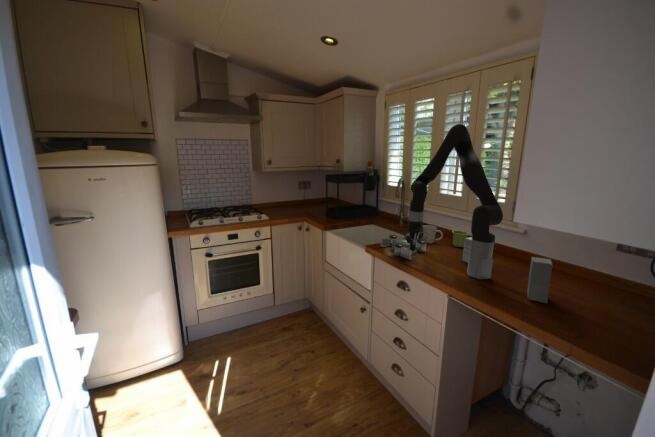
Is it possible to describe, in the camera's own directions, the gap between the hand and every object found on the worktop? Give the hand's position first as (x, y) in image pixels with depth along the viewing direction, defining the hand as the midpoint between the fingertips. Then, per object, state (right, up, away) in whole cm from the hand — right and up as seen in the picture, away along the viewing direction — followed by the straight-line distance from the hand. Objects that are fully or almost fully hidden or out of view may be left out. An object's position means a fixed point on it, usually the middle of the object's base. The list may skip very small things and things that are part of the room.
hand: (412, 250), depth 159 cm
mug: (+20, +2, +29) cm, 36 cm away
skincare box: (+37, -14, -41) cm, 57 cm away
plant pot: (+35, 0, +23) cm, 42 cm away
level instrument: (-2, -1, +11) cm, 11 cm away
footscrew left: (-6, -3, 0) cm, 6 cm away
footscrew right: (+7, -1, +13) cm, 15 cm away
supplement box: (+30, -6, -4) cm, 31 cm away
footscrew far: (-9, +1, +18) cm, 20 cm away
